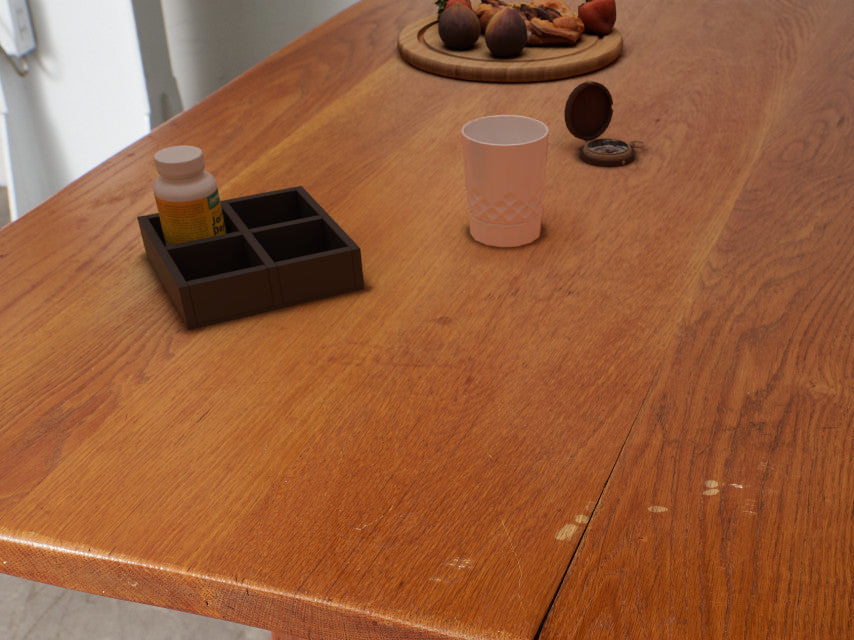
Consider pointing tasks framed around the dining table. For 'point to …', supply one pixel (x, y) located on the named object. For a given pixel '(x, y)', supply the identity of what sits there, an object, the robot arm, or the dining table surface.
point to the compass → (596, 126)
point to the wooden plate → (513, 40)
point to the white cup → (505, 178)
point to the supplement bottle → (186, 196)
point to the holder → (256, 259)
